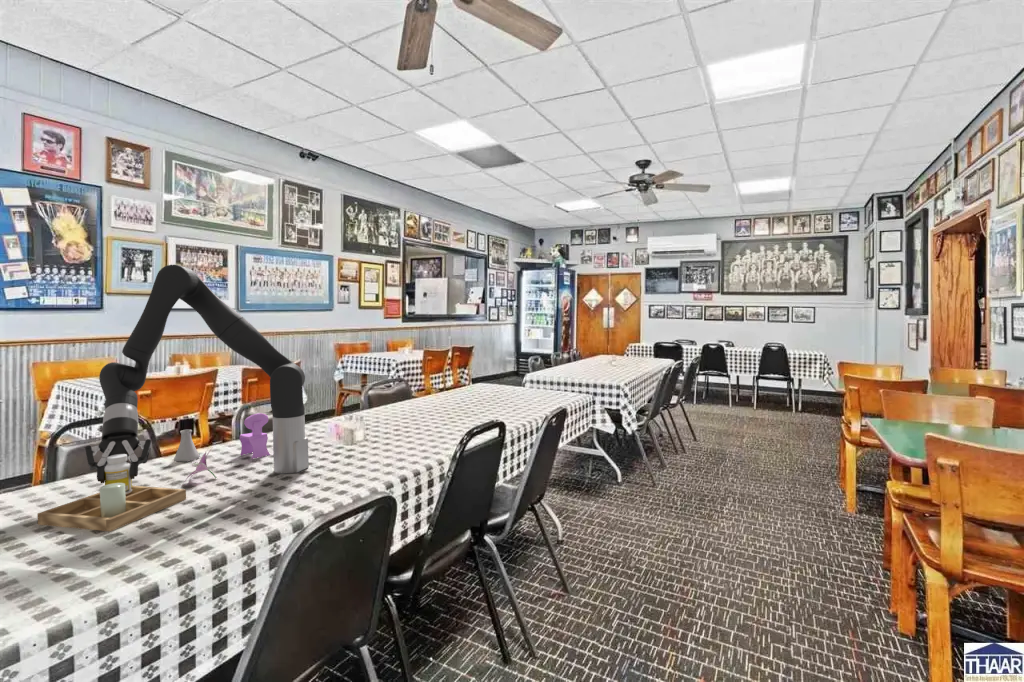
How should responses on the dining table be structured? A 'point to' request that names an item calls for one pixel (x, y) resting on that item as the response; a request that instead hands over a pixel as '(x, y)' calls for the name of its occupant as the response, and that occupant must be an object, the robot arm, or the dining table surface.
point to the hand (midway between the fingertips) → (117, 479)
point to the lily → (201, 466)
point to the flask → (186, 448)
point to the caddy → (89, 516)
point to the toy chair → (255, 436)
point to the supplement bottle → (118, 471)
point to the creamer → (112, 499)
